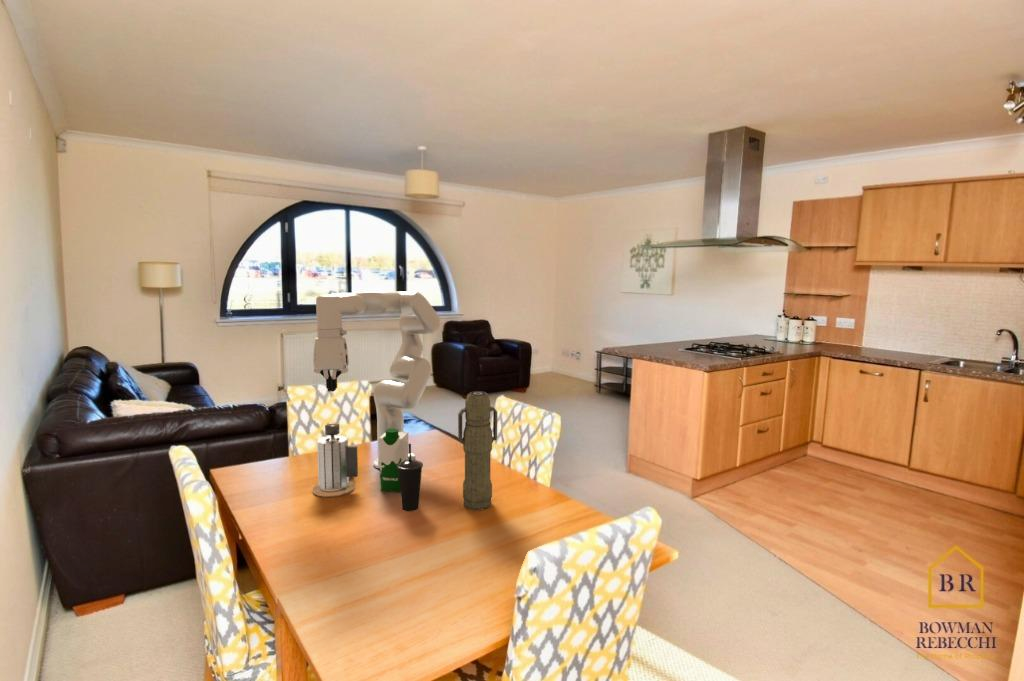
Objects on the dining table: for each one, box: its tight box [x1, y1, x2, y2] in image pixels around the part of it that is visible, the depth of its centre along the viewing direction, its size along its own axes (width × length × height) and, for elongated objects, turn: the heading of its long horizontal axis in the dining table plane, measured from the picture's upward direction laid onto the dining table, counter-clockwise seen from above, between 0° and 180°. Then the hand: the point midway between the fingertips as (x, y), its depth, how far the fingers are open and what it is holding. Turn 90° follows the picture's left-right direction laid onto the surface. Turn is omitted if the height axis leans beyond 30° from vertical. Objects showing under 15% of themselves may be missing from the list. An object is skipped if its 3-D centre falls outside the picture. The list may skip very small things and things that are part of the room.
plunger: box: [324, 423, 341, 442], centre depth 173 cm, size 4×4×19 cm
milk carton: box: [379, 429, 410, 493], centre depth 175 cm, size 9×9×20 cm
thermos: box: [457, 390, 498, 511], centre depth 162 cm, size 9×12×35 cm
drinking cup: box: [397, 443, 424, 512], centre depth 159 cm, size 8×8×20 cm
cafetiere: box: [312, 434, 359, 498], centre depth 173 cm, size 14×13×17 cm
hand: (331, 390), depth 170 cm, fingers closed
